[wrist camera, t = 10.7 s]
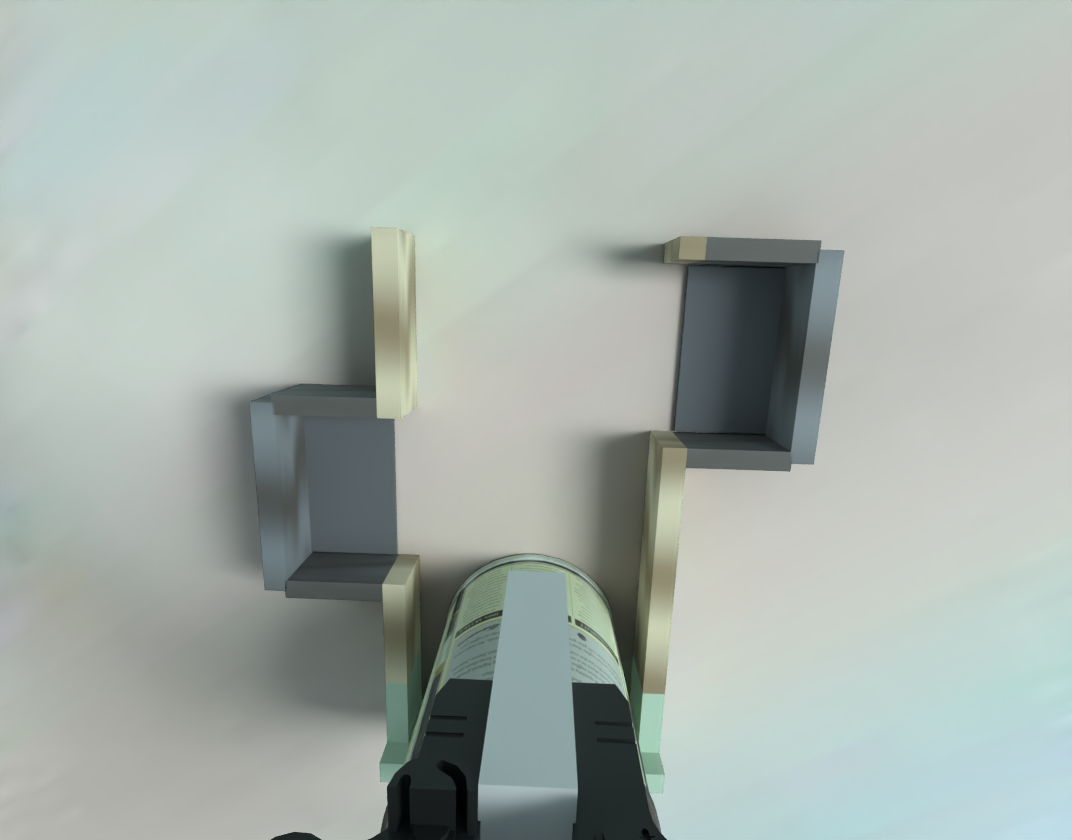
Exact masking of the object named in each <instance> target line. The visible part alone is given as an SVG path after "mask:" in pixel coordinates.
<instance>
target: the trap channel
mask: <svg viewBox="0 0 1072 840" xmlns="http://www.w3.org/2000/svg"><path fill="white" fill-rule="evenodd" d="M371 241H372V273H373V305H374V336H375V368H376V386H353V385H323V384H299V385H297V386H294V387H291V388H288V389H285V390H281V391H279V392H276V393H273V394H270V395H267V396H265V397H262V398H259V399H256V400H253V401H251V402H249V403H250V415H251V427H252V439H253V452H254V464H255V476H256V489H257V501H258V513H259V526H260V538H261V550H262V562H263V575H264V587H265V590H275V591H285V594H286V598H307V599H334V600H360V601H383V624H384V656H385V683H390V684H407V683H408V680H409V677H410V674H411V672H412V669H413V666H414V663H415V661H416V658H417V655H418V652H419V649H420V647H421V622H420V557H419V555H401V554H373V553H346V552H319V551H312V548H311V531H310V515H309V498H308V481H307V465H306V448H305V432H304V416H328V417H358V418H387V419H402V418H403V417H404V416H405V415H407V414H408V413H409V412H410V411H411V410H412V409H414V408H415V407H416V406H417V362H416V297H415V236H414V235H412V234H410V233H408V232H405V231H403V230H401V229H399V228H389V227H371ZM820 248H821V241H817V240H784V239H751V238H718V237H685V236H680V237H678V238H676V239H674V240H671V241H669V242H667V243H665V249H664V262H663V263H669V264H701V265H733V266H766V267H785V268H784V269H786V273H785V281H784V289H783V297H782V305H781V314H780V322H779V330H778V338H777V346H776V354H775V362H774V370H773V379H772V387H771V395H770V403H769V411H768V419H767V427H766V434H764V435H754V434H725V433H695V432H666V431H650V443H649V456H648V469H647V482H646V495H645V507H644V520H643V533H642V546H641V559H640V572H639V585H638V598H637V611H636V624H635V637H634V650H633V655H634V659H635V663H636V667H637V671H638V676H639V680H640V684H641V688H642V692H643V693H645V694H665V686H666V675H667V664H668V653H669V642H670V632H671V621H672V610H673V599H674V588H675V578H676V567H677V556H678V545H679V534H680V524H681V513H682V502H683V491H684V480H685V470H686V468H707V469H735V470H764V471H790V470H791V464H814V458H815V451H816V444H817V437H818V431H819V424H820V417H821V410H822V403H823V396H824V389H825V382H826V375H827V368H828V361H829V354H830V347H831V340H832V333H833V326H834V319H835V313H836V306H837V299H838V292H839V285H840V278H841V271H842V264H843V257H844V250H820Z"/></svg>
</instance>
